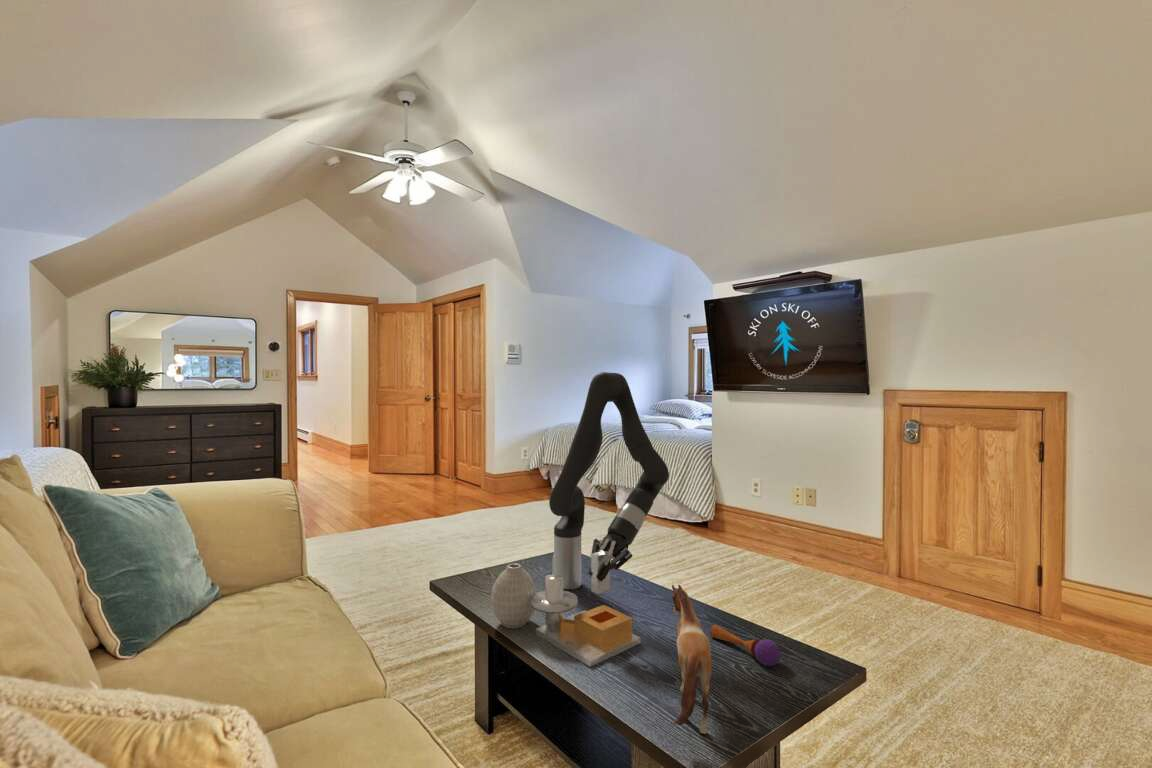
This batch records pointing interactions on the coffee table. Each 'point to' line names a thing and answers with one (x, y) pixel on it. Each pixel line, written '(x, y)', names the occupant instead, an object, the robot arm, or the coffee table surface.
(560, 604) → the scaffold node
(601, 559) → the grey rectangular peg
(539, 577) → the coffee table surface
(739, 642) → the kendama
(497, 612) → the vase
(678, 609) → the horse figurine
